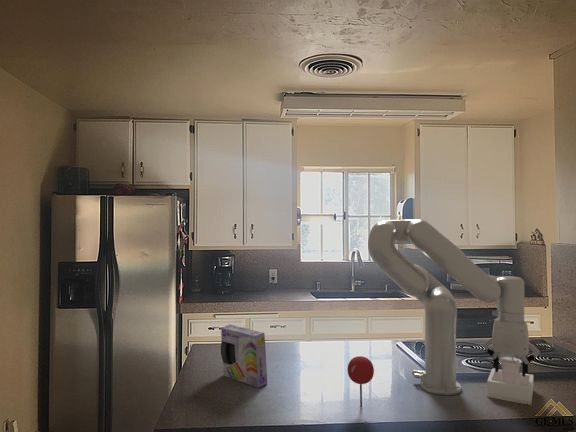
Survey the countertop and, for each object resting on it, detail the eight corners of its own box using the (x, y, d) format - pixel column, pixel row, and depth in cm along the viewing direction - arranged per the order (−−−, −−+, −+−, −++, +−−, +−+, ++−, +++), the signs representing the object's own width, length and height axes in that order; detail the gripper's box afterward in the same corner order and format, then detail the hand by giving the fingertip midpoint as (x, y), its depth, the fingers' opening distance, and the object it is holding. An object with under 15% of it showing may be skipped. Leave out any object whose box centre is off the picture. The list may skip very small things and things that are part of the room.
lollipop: (347, 401, 138) (347, 352, 137) (373, 402, 137) (372, 353, 136) (348, 413, 130) (347, 361, 130) (375, 414, 129) (374, 362, 129)
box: (487, 396, 140) (487, 380, 140) (492, 383, 150) (492, 368, 150) (531, 405, 133) (531, 388, 133) (533, 390, 144) (533, 375, 144)
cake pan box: (220, 375, 160) (219, 325, 160) (231, 371, 164) (230, 322, 163) (257, 389, 147) (256, 335, 147) (268, 385, 151) (267, 332, 150)
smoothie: (525, 395, 138) (525, 350, 137) (502, 394, 139) (502, 349, 138) (518, 387, 144) (518, 343, 143) (497, 386, 145) (497, 342, 145)
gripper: (478, 315, 142) (478, 371, 143) (542, 322, 133) (541, 382, 134) (482, 310, 149) (482, 364, 149) (543, 317, 140) (542, 374, 140)
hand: (510, 372), depth 142 cm, fingers open, 7 cm apart
